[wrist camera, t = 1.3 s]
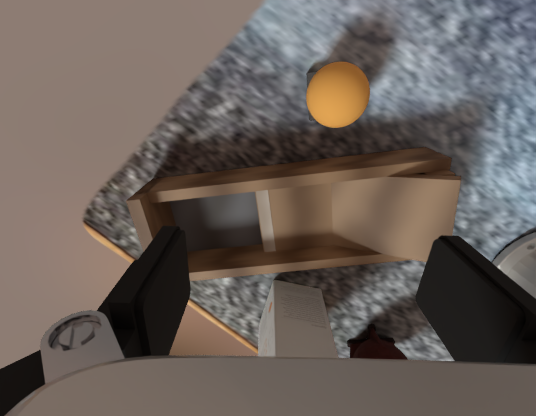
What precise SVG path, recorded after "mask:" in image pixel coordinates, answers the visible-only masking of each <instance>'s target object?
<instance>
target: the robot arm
mask: <svg viewBox="0 0 536 416" xmlns="http://www.w3.org/2000/svg"><path fill="white" fill-rule="evenodd" d="M189 297H190V278H189V267H188V256H187V245H186V234H185V231H184V230H180V227H179V226H162V227H161V229H160V230H159V231H158V233H157V234H156V236H155V237H154V238H153V240H152V241H151V243H150V244H149V245H148V247H147V248H146V250H145V251H144V252H143V254H142V255H141V256H140V258H139V259H138V260H135V261H134V262H133V263H132V264H131V265H130V266H129V268H128V269H127V270H126V272H125V273H124V275H123V276H122V277H121V279H120V280H119V281H118V283H117V284H116V285H115V287H114V288H113V289H112V291H111V292H110V293H109V295H108V296H107V297H106V299H105V300H104V301H103V303H102V304H101V306H100V307H99V308H98V310H97V311H92V310H89V311H81V312H78V313H74V314H71V315H69V316H67V317H65V318H63V319H61V320H59V321H58V322H56V323H55V324H54V325H52V326H51V327H50V328H49V329H48V330H47V331H46V332H45V334H44V335H43V337H42V339H41V344H40V349H41V350H39V351H37V352H35V353H33V354H31V355H29V356H27V357H25V358H23V359H20V360H18V361H16V362H14V363H12V364H10V365H8V366H6V367H4V368H2V369H0V416H536V232H534V233H532V234H529V235H527V236H524V237H522V238H521V239H519V240H517V241H515V242H514V243H512V244H511V245H510V246H508V247H507V248H505V249H504V250H503V251H502V252H501V253H500V254H499V255H498V256H497V257H496V258H495V260H494V261H493V262H492V263H491V262H490V261H489V260H488V259H486V258H485V257H484V256H483V255H482V254H480V253H479V252H478V251H477V250H475V249H474V248H473V247H472V246H471V245H469V244H468V243H467V242H466V241H464V240H463V239H462V238H461V237H459V236H448V235H441V236H439V237H438V239H435V240H434V242H433V244H432V247H431V250H430V253H429V256H428V260H427V263H426V266H425V269H424V272H423V275H422V278H421V281H420V284H419V287H418V291H417V294H416V302H417V304H418V306H419V308H420V309H421V311H422V312H423V314H424V315H425V317H426V318H427V320H428V321H429V323H430V324H431V326H432V327H433V329H434V330H435V332H436V333H437V335H438V336H439V338H440V339H441V341H442V342H443V344H444V345H445V347H446V348H447V350H448V351H449V353H450V354H451V356H452V357H453V359H454V360H455V361H430V360H397V359H361V358H322V357H276V356H225V355H224V356H223V355H169V353H170V349H171V347H172V344H173V341H174V339H175V336H176V333H177V330H178V328H179V325H180V322H181V319H182V316H183V314H184V311H185V308H186V305H187V303H188V300H189Z"/></svg>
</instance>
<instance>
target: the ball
mask: <svg viewBox="0 0 536 416" xmlns="http://www.w3.org/2000/svg"><path fill="white" fill-rule="evenodd" d="M369 96H370V88H369V83H368V80H367V77H366V76H365V74H364V73H363V71H362V70H361V69H360V68H358V67H357V66H355V65H354V64H351V63H348V62H333V63H330V64H328V65H326V66H324V67H322V68H321V69H320V70H319V71H318V72H317V73H316V74H315V75H314V76H313V78H312V79H311V81H310V83H309V86H308V89H307V95H306V100H307V106H308V109H309V111H310V113H311V115H312V116H313V118H314V119H315V120H316V121H317V122H319V123H320V124H322V125H324V126H327V127H332V128H339V127H344V126H347V125H349V124H351V123H353V122H354V121H356V120H357V119H358V118H359V117H360V116H361V115H362V113H363V112H364V110H365V109H366V106H367V104H368V101H369Z"/></svg>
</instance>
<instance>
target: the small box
mask: <svg viewBox="0 0 536 416" xmlns="http://www.w3.org/2000/svg"><path fill="white" fill-rule="evenodd" d="M258 356H276V357H322V358H338V354H337V350H336V346H335V342H334V338H333V334H332V330H331V326H330V322H329V319H328V315H327V311H326V307H325V303H324V299H323V295H322V291H321V289H319V288H314V287H309V286H304V285H299V284H294V283H289V282H285V281H279V280H273V283H272V286H271V289H270V292H269V295H268V298H267V301H266V304H265V308H264V311H263V314H262V317H261V321H260V324H259V346H258Z"/></svg>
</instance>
